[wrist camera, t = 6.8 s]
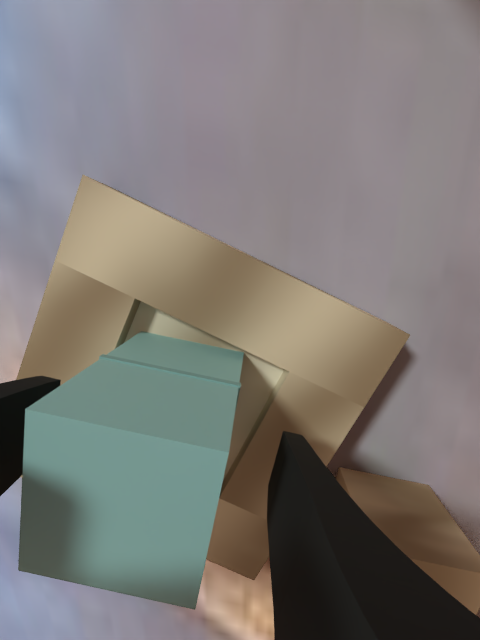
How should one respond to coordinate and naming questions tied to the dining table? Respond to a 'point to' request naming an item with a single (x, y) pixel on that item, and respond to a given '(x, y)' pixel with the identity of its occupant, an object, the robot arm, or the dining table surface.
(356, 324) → the base plate
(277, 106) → the dining table surface
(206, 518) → the teal brick
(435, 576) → the maple cube
